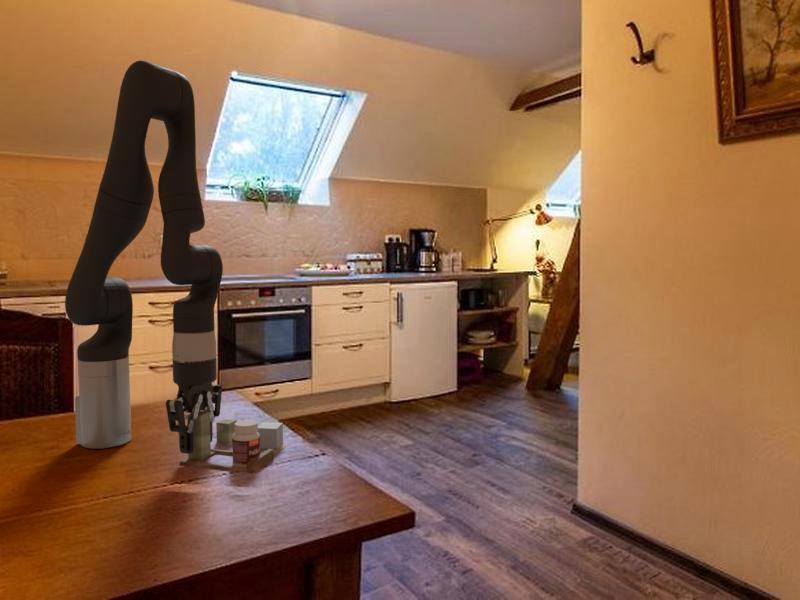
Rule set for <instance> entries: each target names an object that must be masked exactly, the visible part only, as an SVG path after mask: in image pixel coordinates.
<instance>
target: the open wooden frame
mask: <svg viewBox="0 0 800 600" xmlns="http://www.w3.org/2000/svg"><path fill="white" fill-rule="evenodd" d="M190 414H191V413H187V415H190ZM186 420H187V422H188V419H186ZM192 432H193V452H192V453H190V454H187V458H185V459H180V461H179V465H183V466H192V467H201V468H208V469H214V470H223V471H224V470H227V471H232V472H233V471H235V472H240V473H251V474H254V473H255V472H256V471H258V470H260V469H261V468H262V467H264V466H265V465H267V464H268V463H270V462H271V461H272V460H273V459H275V458H274V457H275V456H274V454H275V453H274V451H275V450H274V449H265V450H264V451H262V452H260V455H258V456H257V457H255V458H254V459H252V460H251V461H249V462H248V468H245V467H236V466H233V465H228V464H227V465H225V464H219V463H211V462H210V463H209V462H204V461H206V460H208V459H209V458H211V457H213V456H214V455H216V454H220V455H226V456H233V450H226V449H225V450H224V449H217V448H215V449H214V448H211V447H212V446H211V443H212V442H211V441H210V412H205V411H199V412H198V417H197V419H196V420H195V421H194V424H193V429H192Z"/></svg>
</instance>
